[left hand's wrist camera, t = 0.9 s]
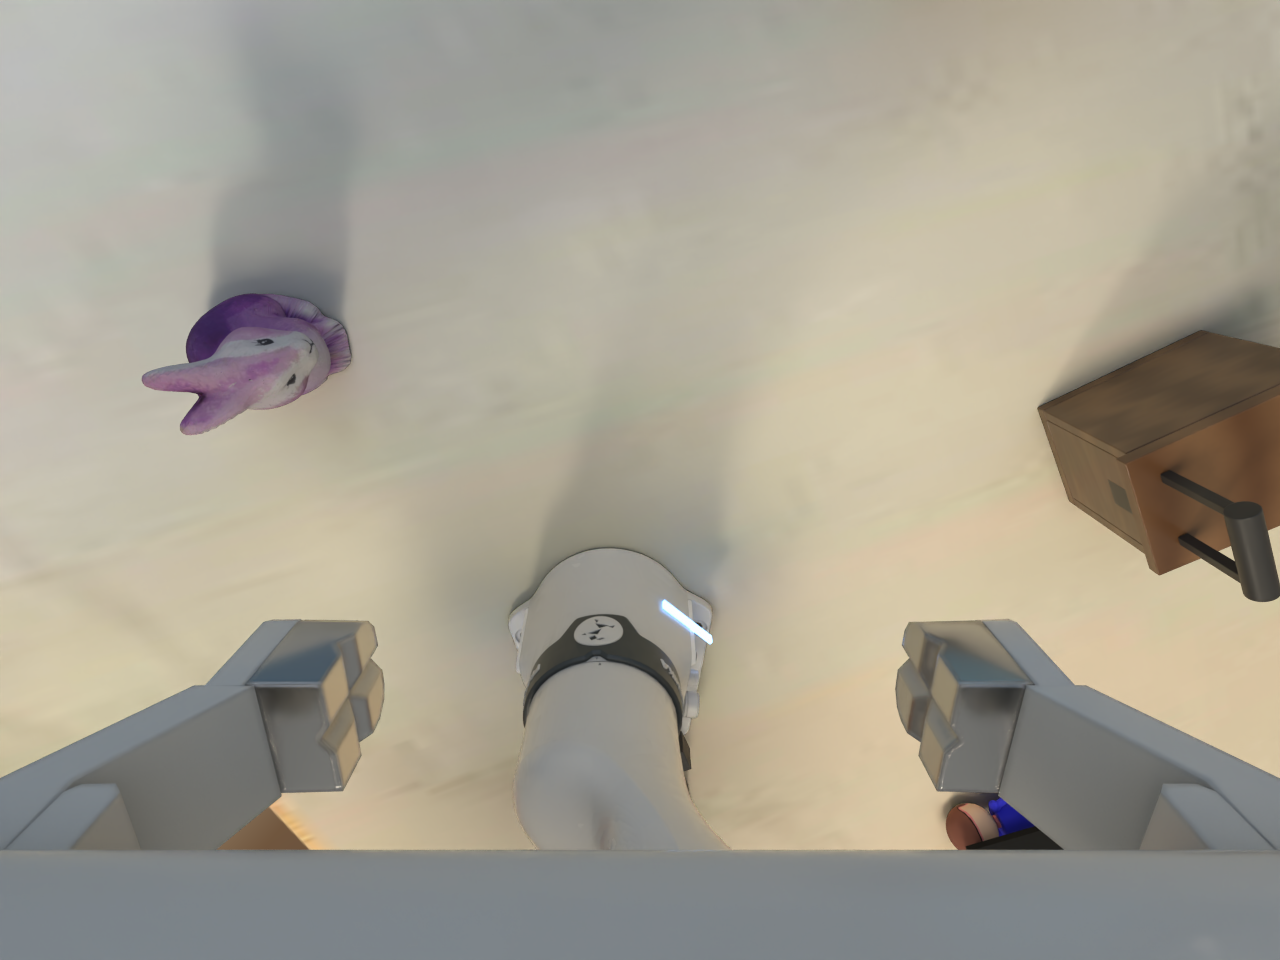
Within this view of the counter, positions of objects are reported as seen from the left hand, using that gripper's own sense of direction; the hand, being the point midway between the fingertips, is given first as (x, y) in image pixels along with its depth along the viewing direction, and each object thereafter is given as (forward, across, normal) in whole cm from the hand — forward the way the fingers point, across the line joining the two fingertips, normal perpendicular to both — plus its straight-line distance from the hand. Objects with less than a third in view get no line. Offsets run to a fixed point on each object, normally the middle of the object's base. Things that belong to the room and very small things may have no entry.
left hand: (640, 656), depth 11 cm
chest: (+46, +41, -10) cm, 62 cm away
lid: (+34, +40, -10) cm, 54 cm away
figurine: (+46, -27, -3) cm, 53 cm away
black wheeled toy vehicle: (+46, +39, -51) cm, 79 cm away
